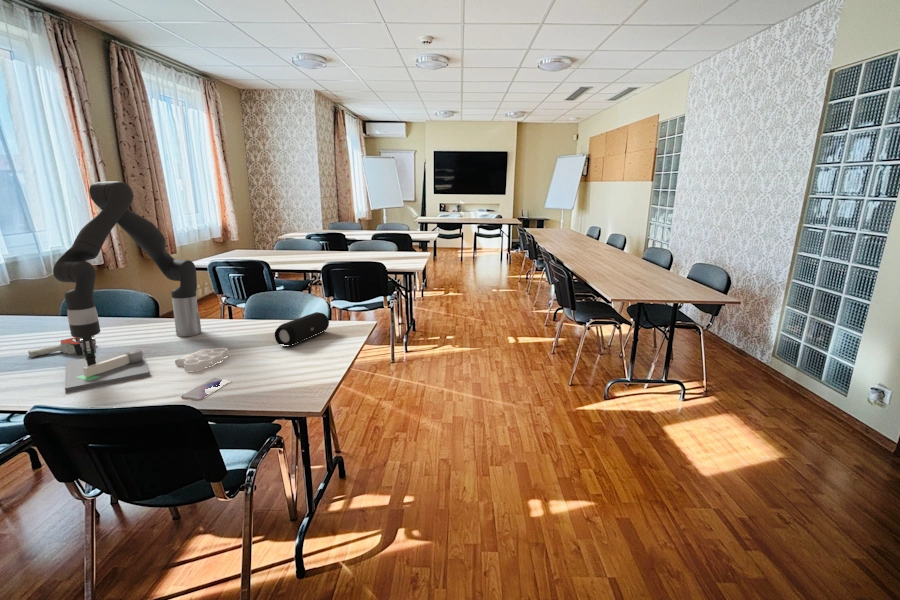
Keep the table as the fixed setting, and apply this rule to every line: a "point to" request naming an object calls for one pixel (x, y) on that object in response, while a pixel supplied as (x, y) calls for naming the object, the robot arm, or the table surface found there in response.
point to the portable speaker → (301, 328)
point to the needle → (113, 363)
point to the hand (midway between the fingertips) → (92, 369)
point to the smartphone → (201, 390)
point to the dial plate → (102, 373)
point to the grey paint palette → (202, 358)
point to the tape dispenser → (61, 348)
